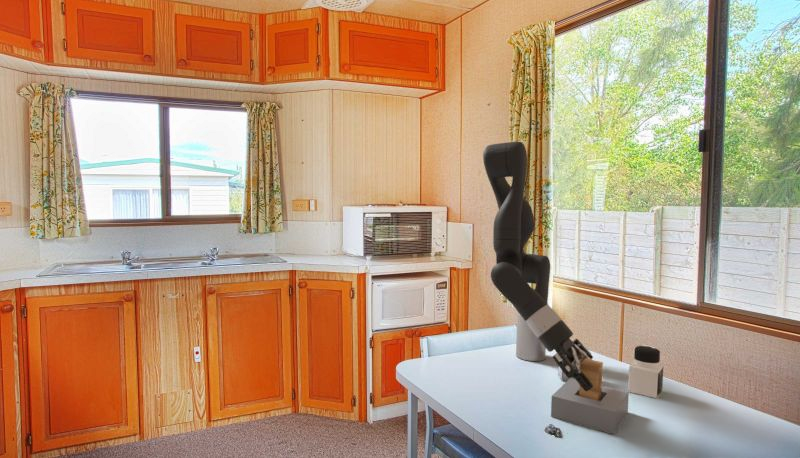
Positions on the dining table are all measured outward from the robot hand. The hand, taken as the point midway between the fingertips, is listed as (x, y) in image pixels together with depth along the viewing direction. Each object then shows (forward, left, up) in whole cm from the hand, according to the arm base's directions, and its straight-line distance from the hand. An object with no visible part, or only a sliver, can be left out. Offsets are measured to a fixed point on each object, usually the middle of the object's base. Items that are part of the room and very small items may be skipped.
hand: (594, 383), depth 115 cm
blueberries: (+14, -4, -8) cm, 17 cm away
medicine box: (-21, -11, -8) cm, 25 cm away
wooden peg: (0, -1, -7) cm, 7 cm away
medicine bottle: (-24, +7, -8) cm, 26 cm away
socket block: (0, -1, -8) cm, 8 cm away
